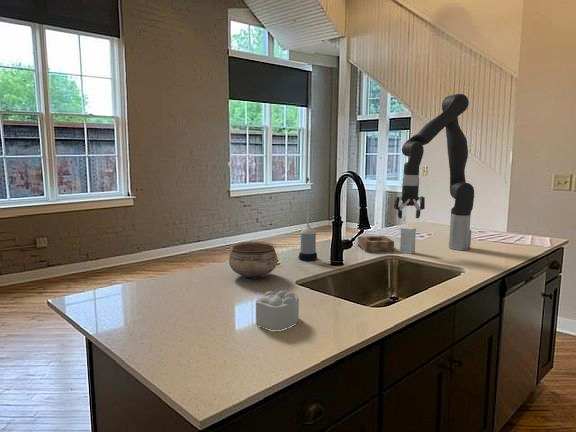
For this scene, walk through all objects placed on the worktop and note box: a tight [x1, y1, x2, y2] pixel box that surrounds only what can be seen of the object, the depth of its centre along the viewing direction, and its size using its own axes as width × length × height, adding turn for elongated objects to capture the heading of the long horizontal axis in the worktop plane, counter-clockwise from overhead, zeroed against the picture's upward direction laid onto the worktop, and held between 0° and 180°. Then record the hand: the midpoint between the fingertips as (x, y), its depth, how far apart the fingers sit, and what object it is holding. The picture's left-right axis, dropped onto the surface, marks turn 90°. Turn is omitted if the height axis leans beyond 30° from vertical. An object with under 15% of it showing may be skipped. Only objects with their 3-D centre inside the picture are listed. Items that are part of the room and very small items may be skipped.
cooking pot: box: [228, 241, 279, 280], centre depth 173 cm, size 25×19×12 cm
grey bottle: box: [297, 204, 318, 262], centre depth 199 cm, size 8×8×25 cm
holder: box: [357, 235, 395, 253], centre depth 221 cm, size 14×14×5 cm
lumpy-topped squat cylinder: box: [255, 290, 300, 330], centre depth 129 cm, size 10×13×9 cm
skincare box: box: [399, 226, 417, 255], centre depth 213 cm, size 6×4×12 cm
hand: (408, 218), depth 212 cm, fingers open, 8 cm apart
